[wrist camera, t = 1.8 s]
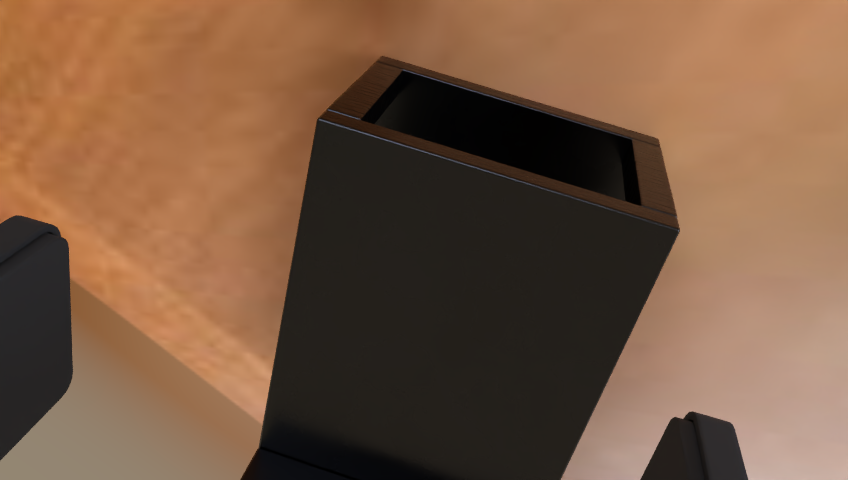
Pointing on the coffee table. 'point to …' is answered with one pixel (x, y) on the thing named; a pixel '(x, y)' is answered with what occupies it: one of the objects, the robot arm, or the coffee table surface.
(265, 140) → the coffee table surface
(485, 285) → the box
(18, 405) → the robot arm
